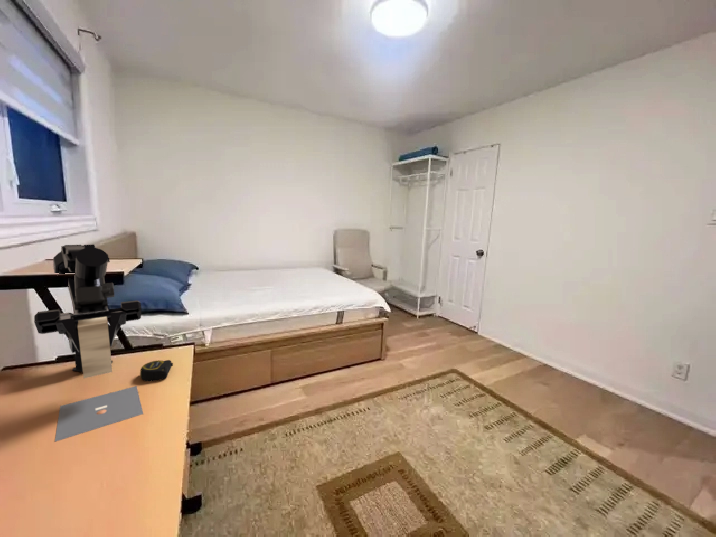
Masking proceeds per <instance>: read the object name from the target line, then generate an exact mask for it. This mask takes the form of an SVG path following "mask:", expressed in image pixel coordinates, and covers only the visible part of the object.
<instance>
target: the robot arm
mask: <svg viewBox="0 0 716 537" xmlns="http://www.w3.org/2000/svg"><path fill="white" fill-rule="evenodd" d="M60 247H61V249H60V252H58V253H57V254H55V256H54V257H53V262H52V263H53V264H52V265H53V266H52V267H53V273H59V274H65V273H75V275H74V280H73V279H71V278H68V286H69V287H68V286H67V289H68V291H69V292H68V293H69V296H70V299H71V304H72V307H73V308H72V309H73V312H74V313H72V312H63V313H62V312H61V309H51V310H43V311H38V312H36V313H35V314H34V316H33V317H34V318H33V322H34V325H35V327H36V331H37V333H38V334H40V335H44V334H51V333H58V334H59V335H65V336H67V337H68V344H69V349H70V352H71V354H74V353H75V356H74V362H75V363H74V364H75V365H74V366H75V367H73V368H72V369H71V371H72V372H81V373H83V369H82V361H81V352H80V343H79V334H78V320H85V319H92V318H99V317H107V319H108V318H110V319H109V320H110V321H109V323H108V332H109V343H110V348H112V347H113V345H114V340H115V338H116V336H117V334H118V331H119V330H120V328H121V326H123V325H126V324H127V322H131V321H139V320H140V319H142V304H141V301H139V300H129V301H120V307H117V308H108V306H109V305H108V303H109V301H108V298H109V299H110V298H115V289H114V287H115V286H114V283H113V282H107V283H106V281H105V276H106V273H107V269H108V268H107V267H108V263H110V257H109V254H108V253H107V252H106V251H105V250H104V249H101V248H98V247H96V246H95V244H83V245H82V244H65V245H62V246H60ZM113 362H114V361H113V360H112V359H111V363H113Z"/></svg>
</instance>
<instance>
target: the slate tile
mask: <svg viewBox="0 0 716 537" xmlns="http://www.w3.org/2000/svg"><path fill="white" fill-rule="evenodd" d="M59 406H60V407H59V412H58V418H57V425H56V431H55V432H56V433H55V439H54V442H59V441H62V440H64V439H69V438H72V437H74V436H77V435H80V434H81V435H82V434H85V433H88V432H90V431H93V430H98V429H99V428H103V427H106V426H109V425H113V424H116V423H119V422H122V421H125V420H129V419H133V418H135V417H138V416H141V415H144V411H143V408H142V404H141V400H140V395H139V391H138V386H137V385H135V386H132V387H126V388H124V389H119V390H116V391H113V392H109V393H104V394H101V395H97V396H94V397H89V398H85V399H81V400H78V401H75V402H70V403H66V404H63V405H59Z"/></svg>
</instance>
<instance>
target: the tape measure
mask: <svg viewBox="0 0 716 537" xmlns="http://www.w3.org/2000/svg"><path fill="white" fill-rule="evenodd" d="M173 366H174V362H172V361H171V359H167V360H165V359H164V360H153V361H152V360H151V361H149V362H147V363H145V364H143V365H142V366H141V368H140V370H139V371H140V372H139V375H140V379H141V380H142V381H144V382H154V381H155V382H156V381H160V380H165V379H167V378H168V375H169V373H170V371H171V368H172V367H173Z"/></svg>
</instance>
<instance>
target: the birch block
mask: <svg viewBox="0 0 716 537" xmlns="http://www.w3.org/2000/svg"><path fill="white" fill-rule="evenodd" d="M108 322H109V321H108V318H107V317H99V318H92V319H85V320H78V334H79V343H80V352H81V361H82V369H83V372H82V376H83V379H88V378H92V377H96V376H101V375H105V374H109V373H113V365H112V363H113V362H112V363H111V360H112V355H111V354H112V353H111V347H110V343H109V332H108V324H109V323H108Z"/></svg>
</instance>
